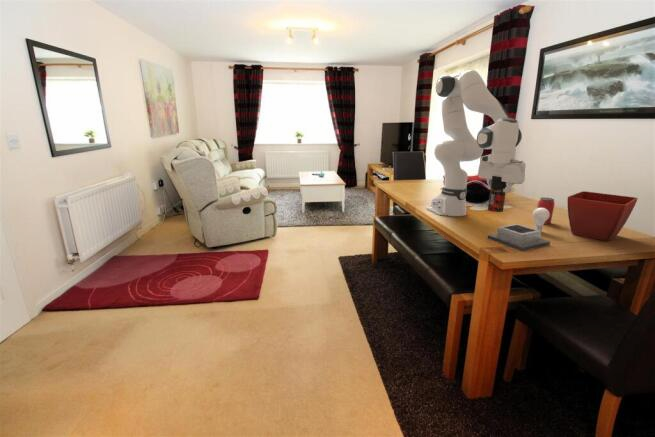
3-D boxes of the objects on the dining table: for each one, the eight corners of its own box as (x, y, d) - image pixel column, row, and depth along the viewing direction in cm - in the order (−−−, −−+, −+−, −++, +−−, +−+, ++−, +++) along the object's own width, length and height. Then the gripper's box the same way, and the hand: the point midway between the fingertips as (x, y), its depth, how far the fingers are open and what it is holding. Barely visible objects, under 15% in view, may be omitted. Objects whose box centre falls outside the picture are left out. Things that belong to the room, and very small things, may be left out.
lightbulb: (548, 231, 143) (553, 208, 140) (542, 234, 140) (547, 210, 137) (533, 228, 148) (537, 205, 145) (527, 230, 145) (531, 207, 142)
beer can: (553, 224, 153) (558, 200, 149) (538, 224, 154) (542, 200, 151) (547, 220, 159) (551, 197, 156) (532, 220, 160) (536, 197, 157)
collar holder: (487, 238, 136) (488, 226, 135) (513, 233, 142) (515, 221, 141) (521, 251, 122) (524, 237, 121) (549, 244, 128) (552, 231, 126)
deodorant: (485, 210, 139) (490, 176, 135) (490, 207, 143) (495, 174, 139) (500, 212, 135) (505, 177, 131) (504, 210, 139) (510, 176, 135)
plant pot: (559, 233, 141) (566, 196, 136) (575, 225, 152) (582, 190, 147) (614, 246, 126) (625, 204, 121) (628, 236, 137) (638, 197, 132)
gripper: (531, 160, 125) (525, 195, 129) (487, 156, 143) (484, 186, 147) (520, 161, 122) (514, 196, 126) (477, 157, 140) (473, 187, 144)
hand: (497, 191), depth 137 cm, fingers closed on deodorant, 6 cm apart
